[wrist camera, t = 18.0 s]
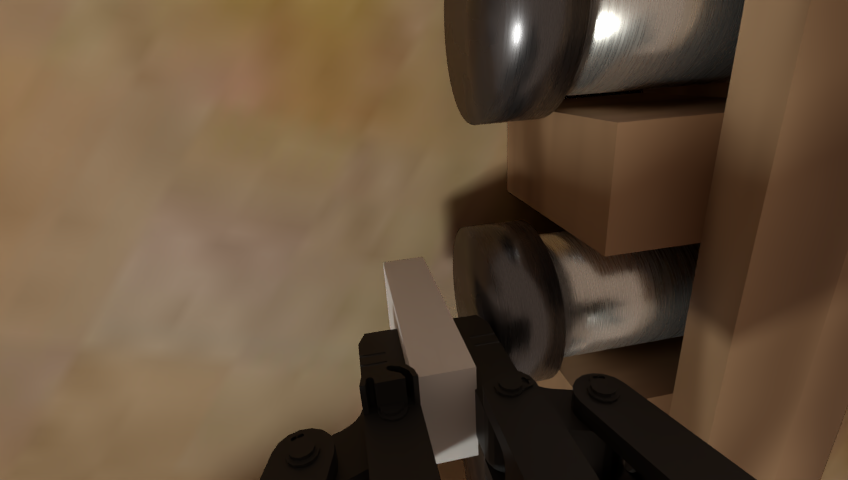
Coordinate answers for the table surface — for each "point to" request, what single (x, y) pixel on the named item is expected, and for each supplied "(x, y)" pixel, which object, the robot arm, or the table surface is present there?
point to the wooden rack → (723, 232)
